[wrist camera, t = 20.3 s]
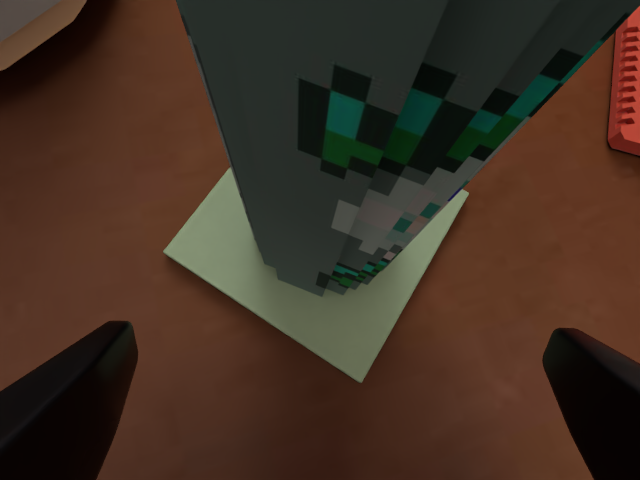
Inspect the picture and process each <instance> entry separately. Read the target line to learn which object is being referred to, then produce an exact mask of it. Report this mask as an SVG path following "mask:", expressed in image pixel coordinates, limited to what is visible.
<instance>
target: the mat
mask: <svg viewBox="0 0 640 480" xmlns="http://www.w3.org/2000/svg"><path fill="white" fill-rule="evenodd" d="M468 194H469V193H468V192H466V191H464V190H463V189H462V190H461V191H460V192H459V193H458V194H457V195H456V196H455V197H454V198H453V199H452V200H451V201H450V202H449V203H448V204H447V205H446V206H445V207H444V208H443V209H442V210H441V211H440V212H439V213H438V214H437V215H436V216H435V217H434V218H433V219H432V220H431V221H430V223H429V224H428V225H427V226H426V227H425V228H424V229H423V230H422V231H421V232H420V233H419V234H418V235H417V236H416V237H415V238H414V239H413V240H412V241H411V242H410V243H409V244H408V245H407V246H406V247H405V248H404V249H403V250H402V251H401V252H400V253H399V254H398V256H397V257H396V258H395V259H394V260H393V261H392V262H391V263H390V264H389V265H388V266H387V267H386V268H385V269H384V270H383V271H380V272H379V273H378V274H377V275H376V276H375V277H374V278H373V279H372V280H371V282H370V283H369V284H368V285H366V284H363V283H361V284H360V285H359V286H358V287H357V289H356V290H354V289H351V288H348V289H347V291H346V292H345V294H344V295H341V294H338V293H336V292H333V291H331V290H328V289H325V291H324V294H323V296H322V297H321V296H318V295H316V294H313V293H311V292H308V291H306V290H303V289H301V288H298V287H296V286H293V285H291V284H288V283H286V282H283V281H281V280H278V277H277V272H276V268H274V267H271V266H269V265H266V264H264V261H263V258H262V255H261V252H259V249H258V246H257V243H256V241H255V240H254V237H253V234H252V231H251V228H250V225H249V222H248V218H247V215H246V212H245V209H244V206H243V203H242V200H241V197H240V194H239V191H238V188H237V185H236V182H235V179H234V176H233V173H232V170H231V167H230V168H229V169H228V170H227V172H226V173H225V174H224V175H223V177H222V178H221V179H220V180H219V182H218V183H217V184H216V185H215V187H214V188H213V189H212V190H211V192H210V193H209V194H208V196H207V197H206V198H205V199H204V201H203V202H202V203H201V204H200V206H199V207H198V208H197V209H196V211H195V212H194V213H193V214H192V216H191V217H190V218H189V220H188V221H187V222H186V223H185V225H184V226H183V227H182V228H181V230H180V231H179V232H178V233H177V235H176V236H175V237H174V238H173V240H172V241H171V242H170V244H169V245H168V246H167V247H166V249H165V250H164V251H163V253H164V254H166V255H167V256H168V257H170V258H172V259H173V260H175V261H176V262H178V263H179V264H181V265H182V266H184V267H185V268H187V269H188V270H190V271H191V272H193V273H194V274H196V275H197V276H199V277H200V278H202V279H203V280H205V281H206V282H208V283H209V284H211V285H212V286H214V287H215V288H217V289H218V290H220V291H221V292H223V293H224V294H226V295H227V296H229V297H230V298H232V299H233V300H235V301H236V302H238V303H239V304H241V305H242V306H244V307H245V308H247V309H248V310H250V311H252V312H253V313H255V314H256V315H258V316H259V317H261V318H262V319H264V320H265V321H267V322H268V323H270V324H271V325H273V326H274V327H276V328H277V329H279V330H280V331H282V332H283V333H285V334H286V335H288V336H289V337H291V338H292V339H294V340H295V341H297V342H298V343H300V344H301V345H303V346H304V347H306V348H307V349H309V350H310V351H312V352H313V353H315V354H316V355H318V356H319V357H321V358H322V359H324V360H325V361H327V362H329V363H330V364H332V365H333V366H335V367H336V368H338V369H339V370H341V371H342V372H344V373H345V374H347V375H348V376H350V377H351V378H353V379H354V380H356V381H357V382H359V383H362V381H363V380H364V378H365V376H366V374H367V373H368V371H369V369H370V367H371V366H372V364H373V362H374V360H375V358H376V357H377V355H378V353H379V351H380V350H381V348H382V346H383V344H384V343H385V341H386V339H387V337H388V336H389V334H390V332H391V330H392V328H393V327H394V325H395V323H396V321H397V320H398V318H399V316H400V314H401V313H402V311H403V309H404V307H405V306H406V304H407V302H408V300H409V299H410V297H411V295H412V293H413V291H414V290H415V288H416V286H417V284H418V283H419V281H420V279H421V277H422V276H423V274H424V272H425V270H426V269H427V267H428V265H429V263H430V261H431V260H432V258H433V256H434V254H435V253H436V251H437V249H438V247H439V246H440V244H441V242H442V240H443V239H444V237H445V235H446V233H447V231H448V230H449V228H450V226H451V224H452V223H453V221H454V219H455V217H456V216H457V214H458V212H459V210H460V209H461V207H462V205H463V203H464V202H465V200H466V198H467V196H468Z"/></svg>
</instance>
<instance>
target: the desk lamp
mask: <svg viewBox="0 0 640 480" xmlns="http://www.w3.org/2000/svg"><path fill="white" fill-rule="evenodd" d="M86 1H87V0H0V71H1V70H4V69H6V68H8V67H9V66H10V65H12V64H13V63H15V62H16V61H18V60H19V59H20V58H22V57H23V56H25V55H26V54H27V53H29V52H30V51H32V50H33V49H35V48H36V47H37V46H39V45H40V44H42V43H43V42H44V41H46V40H47V39H49V38H50V37H52V36H53V35H54V34H56V33H57V32H59V31H60V30H61V29H63V28H64V27H66V26H67V25H69V24H70V23H71V22H73V21H74V19H75V18H76V16H77V15H78V13H79V12H80V10H81V9H82V7H83V6H84V4H85V3H86Z"/></svg>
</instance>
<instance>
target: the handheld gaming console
mask: <svg viewBox="0 0 640 480" xmlns="http://www.w3.org/2000/svg"><path fill="white" fill-rule="evenodd" d="M608 142H609V144H610V146H611V148H613V149H617V150H621V151H624V152H628V153H631V154H635V155H639V156H640V6H639V7H638V8H637V9H636V10H635V11H634V12H633V13H632V14H631V15H630V16H629V17H628V18H627V19H626V20H625V21H624V23H623V24H622V25H621V26H620V27H619V28H618V29H617V30H616V38H615V51H614V64H613V78H612V91H611V104H610V117H609V130H608Z"/></svg>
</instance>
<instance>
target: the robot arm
mask: <svg viewBox="0 0 640 480" xmlns="http://www.w3.org/2000/svg"><path fill="white" fill-rule="evenodd" d="M137 360H138V349H137V344H136V339H135V335H134V330H133V326H132V324H131V323H130V322H129V321H108V322H107V323H105V324H103V325H102V326H100V327H99V328H97V329H96V330H94V331H93V332H91V333H89V334H88V335H86V336H85V337H83V338H82V339H80V340H79V341H77V342H76V343H74V344H73V345H71V346H69V347H68V348H66V349H65V350H63V351H62V352H60V353H59V354H57V355H56V356H54V357H53V358H51V359H50V360H48V361H46V362H45V363H43V364H42V365H40V366H39V367H37V368H36V369H34V370H33V371H31V372H30V373H28V374H26V375H25V376H23V377H22V378H20V379H19V380H17V381H16V382H14V383H13V384H11V385H10V386H8V387H6V388H5V389H3V390H2V391H0V480H96V479H97V476H98V474H99V472H100V469H101V467H102V465H103V462H104V460H105V458H106V455H107V453H108V451H109V448H110V446H111V443H112V441H113V438H114V436H115V433H116V430H117V427H118V424H119V421H120V418H121V415H122V411H123V408H124V405H125V401H126V398H127V395H128V391H129V388H130V385H131V381H132V378H133V375H134V371H135V368H136V365H137ZM543 367H544V370H545V372H546V375H547V377H548V380H549V382H550V385H551V387H552V390H553V392H554V395H555V397H556V400H557V402H558V405H559V407H560V409H561V412H562V414H563V417H564V419H565V422H566V424H567V427H568V429H569V431H570V433H571V436H572V438H573V440H574V442H575V444H576V446H577V448H578V450H579V451H580V453H581V455H582V457H583V459H584V461H585V463H586V465H587V467H588V469H589V471H590V473H591V475H592V477H593V478H594V480H640V364H639V363H638V362H636V361H634V360H632V359H630V358H629V357H627V356H625V355H623V354H621V353H620V352H618V351H616V350H614V349H612V348H611V347H609V346H607V345H605V344H603V343H602V342H600V341H598V340H596V339H594V338H593V337H591V336H589V335H587V334H585V333H584V332H582V331H580V330H578V329H575V328H558V329H555V330H554V331H553V333H552V335H551V337H550V340H549V342H548V345H547V347H546V350H545V352H544V355H543Z"/></svg>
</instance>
